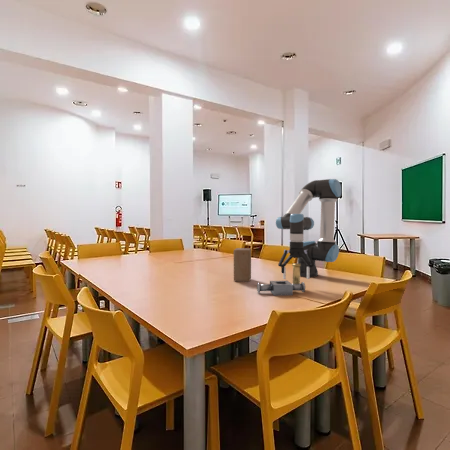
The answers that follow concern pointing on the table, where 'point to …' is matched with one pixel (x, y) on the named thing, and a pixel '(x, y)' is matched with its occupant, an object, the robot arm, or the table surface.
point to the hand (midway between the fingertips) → (296, 278)
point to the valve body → (281, 287)
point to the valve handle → (296, 273)
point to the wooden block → (242, 264)
